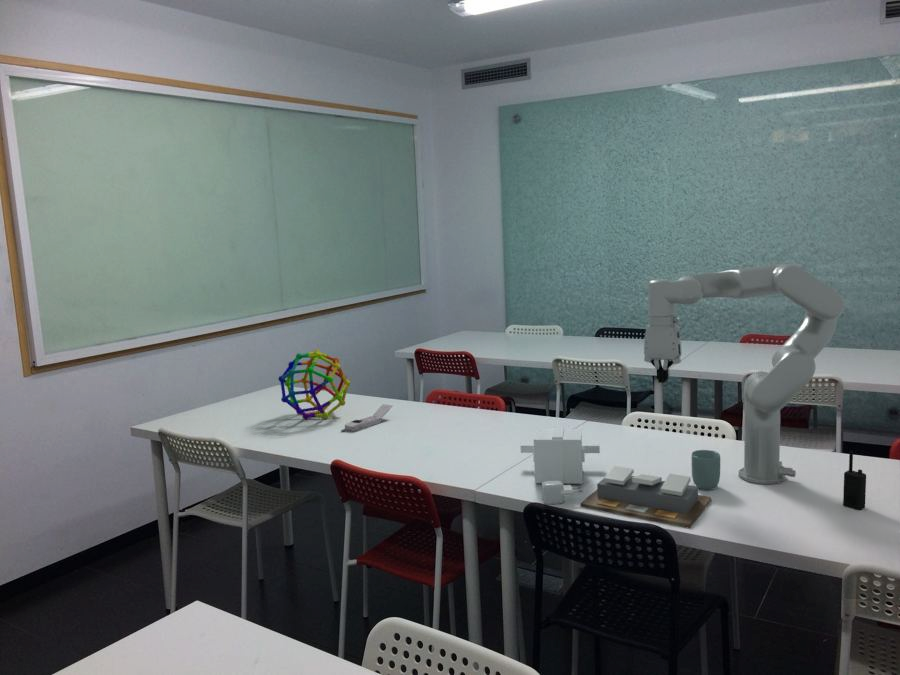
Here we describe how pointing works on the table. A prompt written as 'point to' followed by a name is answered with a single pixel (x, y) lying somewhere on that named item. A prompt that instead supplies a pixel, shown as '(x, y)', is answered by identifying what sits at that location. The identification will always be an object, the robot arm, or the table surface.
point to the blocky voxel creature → (559, 454)
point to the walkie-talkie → (854, 487)
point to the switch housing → (648, 495)
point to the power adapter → (556, 492)
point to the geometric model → (290, 383)
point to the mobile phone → (368, 420)
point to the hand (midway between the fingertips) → (662, 381)
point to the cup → (706, 469)
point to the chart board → (648, 510)
